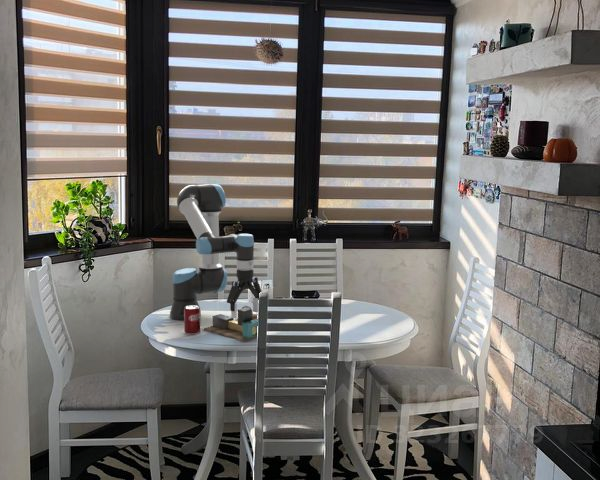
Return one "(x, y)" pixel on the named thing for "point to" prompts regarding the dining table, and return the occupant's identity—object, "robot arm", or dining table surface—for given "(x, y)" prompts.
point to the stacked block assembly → (221, 323)
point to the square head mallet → (241, 320)
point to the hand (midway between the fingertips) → (244, 314)
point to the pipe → (254, 316)
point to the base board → (228, 333)
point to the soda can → (192, 319)
